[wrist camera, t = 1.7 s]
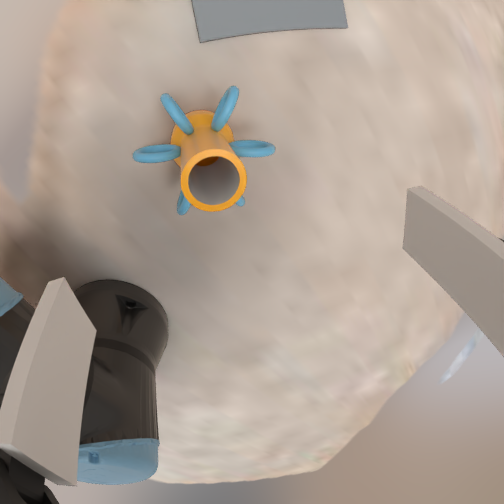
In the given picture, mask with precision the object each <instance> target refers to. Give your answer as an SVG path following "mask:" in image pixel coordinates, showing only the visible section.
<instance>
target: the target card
mask: <svg viewBox="0 0 504 504" xmlns="http://www.w3.org/2000/svg"><path fill="white" fill-rule="evenodd" d="M192 5H193V10H194V15H195V20H196V24H197V29H198V34H199V39H200V43H201V42H206V41H211V40H217V39H222V38H228V37H234V36H241V35H248V34H256V33H264V32H274V31H285V30H299V29H324V28H348V25H347V19H346V13H345V8H344V3H343V0H192Z"/></svg>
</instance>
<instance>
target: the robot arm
mask: <svg viewBox="0 0 504 504" xmlns="http://www.w3.org/2000/svg"><path fill="white" fill-rule="evenodd" d="M403 249H404V250H405V251H406V252H407V253H408V254H409V255H410V256H411V257H412V258H413V259H414V260H415V261H416V262H417V263H418V264H419V265H420V266H421V267H422V268H423V269H424V270H425V271H426V272H427V273H428V274H429V275H430V276H431V277H432V278H433V279H434V280H435V281H436V282H437V283H438V284H439V285H440V286H441V287H442V288H443V289H444V290H445V291H446V292H447V293H448V294H449V295H450V296H451V297H452V299H453V300H454V301H455V302H456V303H457V304H458V305H459V306H460V307H461V308H462V309H463V310H464V311H465V313H466V314H467V315H468V316H469V317H470V318H471V319H472V320H473V321H474V323H476V325H477V326H478V327H479V328H480V329H481V331H482V332H483V333H484V334H485V335H486V336H487V338H488V339H489V340H490V341H491V342H492V344H493V345H494V346H495V347H496V348H497V350H498V351H499V352H500V353H501V354H502V356H503V357H504V240H502V239H500V238H498V237H496V236H495V235H494V234H492V233H491V232H490V231H488V230H487V229H486V228H484V227H483V226H481V225H480V224H479V223H477V222H476V221H474V220H473V219H472V218H470V217H469V216H467V215H466V214H464V213H463V212H462V211H460V210H459V209H457V208H456V207H454V206H453V205H451V204H450V203H448V202H447V201H445V200H443V199H442V198H440V197H439V196H437V195H436V194H434V193H433V192H431V191H429V190H428V189H426V188H424V187H423V186H418V187H414V188H409V189H407V202H406V217H405V229H404V240H403ZM167 341H168V320H167V316H166V314H165V311H164V309H163V308H162V306H161V305H160V304H159V302H158V301H157V300H156V299H155V298H154V297H153V296H151V295H150V294H149V293H147V292H146V291H144V290H143V289H141V288H139V287H137V286H134V285H132V284H129V283H125V282H121V281H114V280H101V281H95V282H91V283H88V284H86V285H84V286H82V287H80V288H79V289H78V290H76V291H75V292H74V293H73V291H72V290H71V288H70V286H69V284H68V283H67V281H66V279H65V277H62V278H59V279H56V280H52V281H49V282H48V284H47V286H46V288H45V290H44V292H43V295H42V297H41V299H40V301H39V303H38V306H37V308H36V310H35V309H34V308H33V307H32V306H31V305H30V304H29V303H28V302H26V301H25V300H24V299H23V294H22V293H20V292H16V291H15V290H14V289H13V288H12V287H11V286H10V285H8V284H7V283H6V282H5V281H4V280H3V279H2V278H1V277H0V504H59V502H58V501H57V499H56V498H55V496H54V495H53V493H52V491H51V490H50V489H49V488H48V487H47V486H46V485H44V482H45V478H46V479H48V480H50V481H52V482H54V483H55V484H57V485H66V486H77V481H81V482H86V483H94V484H106V485H119V484H130V483H136V482H140V481H143V480H146V479H148V478H150V477H151V476H152V475H153V474H154V473H155V472H156V470H157V467H158V446H159V444H160V443H159V436H158V422H157V405H156V382H155V371H156V368H157V366H158V364H159V362H160V359H161V357H162V354H163V352H164V350H165V348H166V345H167Z"/></svg>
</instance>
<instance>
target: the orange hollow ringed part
mask: <svg viewBox="0 0 504 504" xmlns="http://www.w3.org/2000/svg"><path fill="white" fill-rule="evenodd" d="M238 95H239V89H238V88H237V87H236V86H231V87H230V88H228V90H227V91H226V92H225V94H224V95H223V97H222V99H221V101H220V103H219V105H218V107H217V109H216V112H215V113H213V112H211V111H207V110H196V111H192V112H189V113H187V114H184V113H183V111H182V110H181V108H180V107H179V106H178V104H177V103H176V102H175V101H174V99H173V98H172V97H171V96H170V95H169V94H166V93H165V94H163V95H162V96H161V98H160V99H161V102H162V104H163V106H164V107H165V109H166V111H167V112H168V113H169V115H170V116H171V118H172V119H173V120H174V122H175V123H176V124H175V126H174V128H173V131H172V135H171V141H170V144H162V145H152V146H147V147H143V148H140V149H138V150H136V151H135V152H134V153H133V159H134V160H135V161H137V162H141V163H157V162H165V161H169V160H173V159H174V161H175V162H176V163H177V165H178V166H179V167H180V168H181V188H182V190H181V193H180V196H179V200H178V204H177V213H178V214H179V215H184V214H185V213H186V212H187V211H188V209H189V207H190V205H191V204H192V205H193V206H194V207H196V208H198V209H201V210H204V211H210V212H214V211H221V210H224V209H227V208H229V207H230V206H232V205H233V204H235V203H236V204H237V205H238V206H243V205H244V204H245V200H244V197H243V196H242V194H243V193H244V190H245V188H246V183H247V175H246V170H245V167H244V165H243V164H242V162H241V161H240V159H239V158H238V156H241V157H264V156H269V155H271V154H273V153H274V152H275V147H274V145H273V144H271V143H268V142H264V141H256V140H241V141H234V136H233V133H232V131H231V129H230V127H229V126H228V124H227V121H228V119H229V117H230V115H231V113H232V111H233V109H234V107H235V104H236V102H237V99H238Z"/></svg>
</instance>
